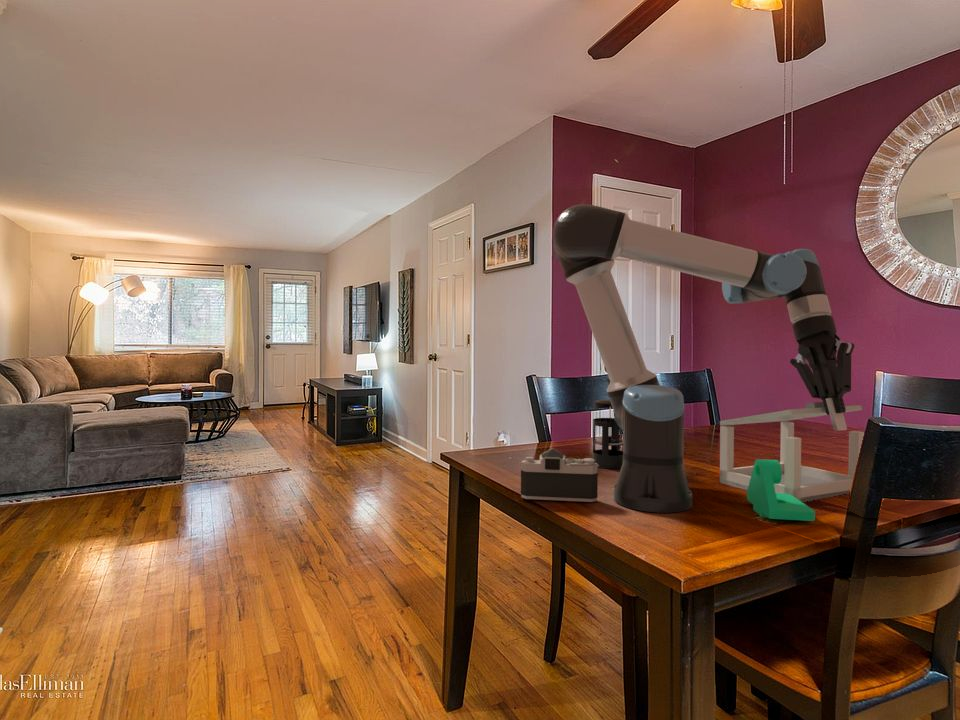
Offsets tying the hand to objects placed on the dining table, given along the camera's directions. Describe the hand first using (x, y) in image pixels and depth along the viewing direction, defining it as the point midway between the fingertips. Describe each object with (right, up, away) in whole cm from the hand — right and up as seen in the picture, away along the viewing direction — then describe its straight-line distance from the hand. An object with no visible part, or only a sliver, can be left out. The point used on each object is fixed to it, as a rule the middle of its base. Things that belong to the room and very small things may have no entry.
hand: (840, 430), depth 103 cm
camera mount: (-17, -15, -7) cm, 24 cm away
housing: (-3, -14, +12) cm, 19 cm away
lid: (-3, +1, +12) cm, 12 cm away
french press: (-37, -14, +35) cm, 53 cm away
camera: (-56, -15, +5) cm, 58 cm away
